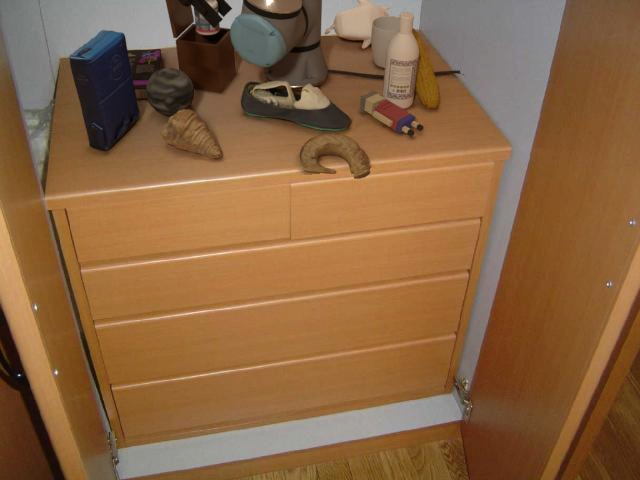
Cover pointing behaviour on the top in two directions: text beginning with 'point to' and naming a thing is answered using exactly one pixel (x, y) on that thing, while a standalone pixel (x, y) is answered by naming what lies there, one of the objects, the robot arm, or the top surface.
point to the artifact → (337, 147)
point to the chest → (207, 59)
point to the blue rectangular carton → (105, 88)
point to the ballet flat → (293, 105)
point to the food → (425, 77)
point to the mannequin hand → (358, 22)
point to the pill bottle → (203, 24)
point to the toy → (389, 113)
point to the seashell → (190, 134)
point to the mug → (382, 37)
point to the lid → (179, 17)
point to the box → (143, 68)
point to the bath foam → (401, 64)
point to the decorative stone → (170, 91)
